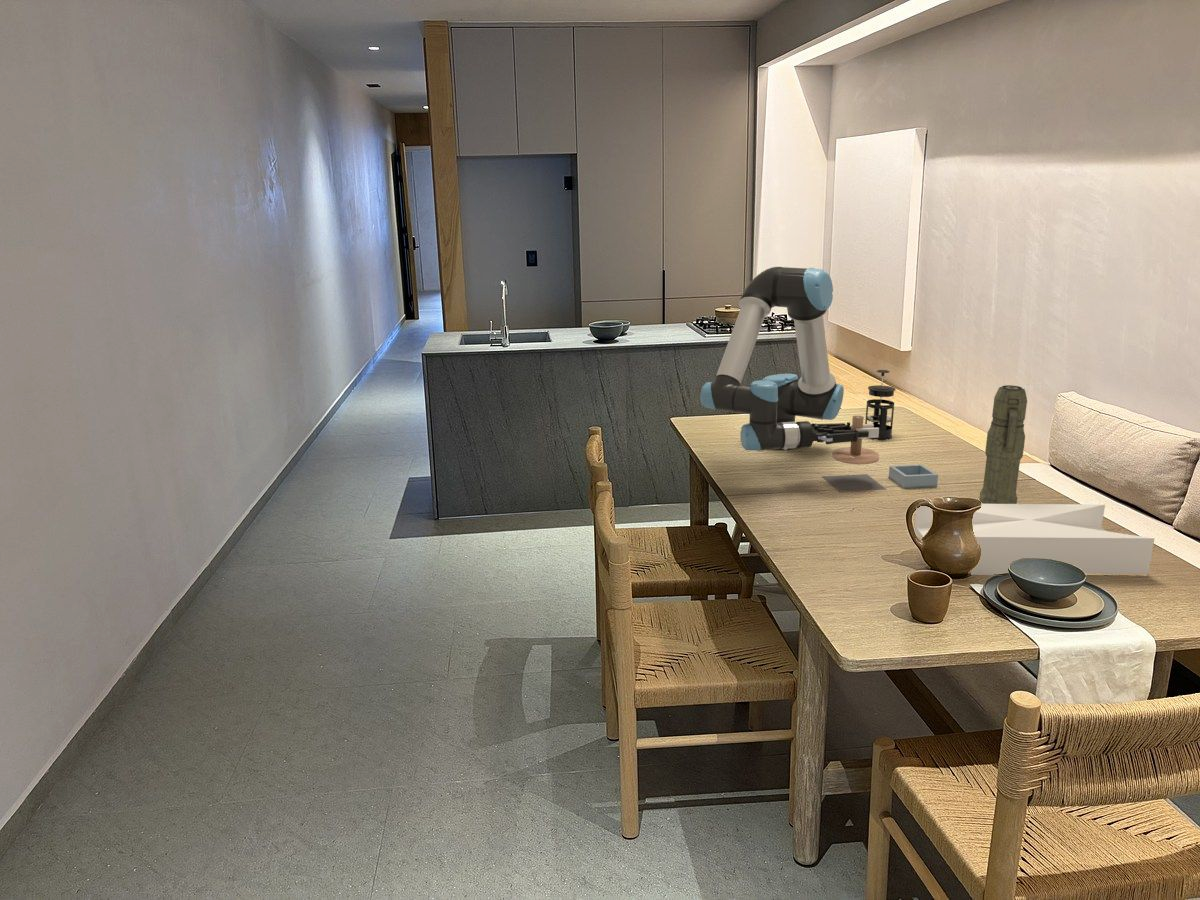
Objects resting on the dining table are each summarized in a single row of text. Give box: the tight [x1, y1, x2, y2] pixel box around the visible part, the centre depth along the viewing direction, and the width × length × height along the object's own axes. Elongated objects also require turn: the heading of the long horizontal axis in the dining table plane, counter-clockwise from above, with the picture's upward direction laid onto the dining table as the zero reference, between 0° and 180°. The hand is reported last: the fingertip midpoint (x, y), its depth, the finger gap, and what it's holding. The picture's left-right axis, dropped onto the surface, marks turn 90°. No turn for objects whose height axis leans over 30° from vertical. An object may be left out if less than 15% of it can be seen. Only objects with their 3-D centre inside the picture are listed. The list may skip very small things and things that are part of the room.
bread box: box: [914, 503, 1155, 576], centre depth 215 cm, size 45×22×10 cm, turn 88°
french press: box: [864, 369, 897, 441], centre depth 312 cm, size 12×9×23 cm
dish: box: [888, 464, 939, 490], centre depth 267 cm, size 10×10×4 cm
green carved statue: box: [978, 384, 1028, 504], centre depth 234 cm, size 9×12×35 cm
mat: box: [821, 473, 887, 493], centre depth 267 cm, size 14×14×1 cm
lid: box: [831, 415, 880, 465], centre depth 263 cm, size 13×13×12 cm
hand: (875, 430), depth 263 cm, fingers closed on lid, 3 cm apart
